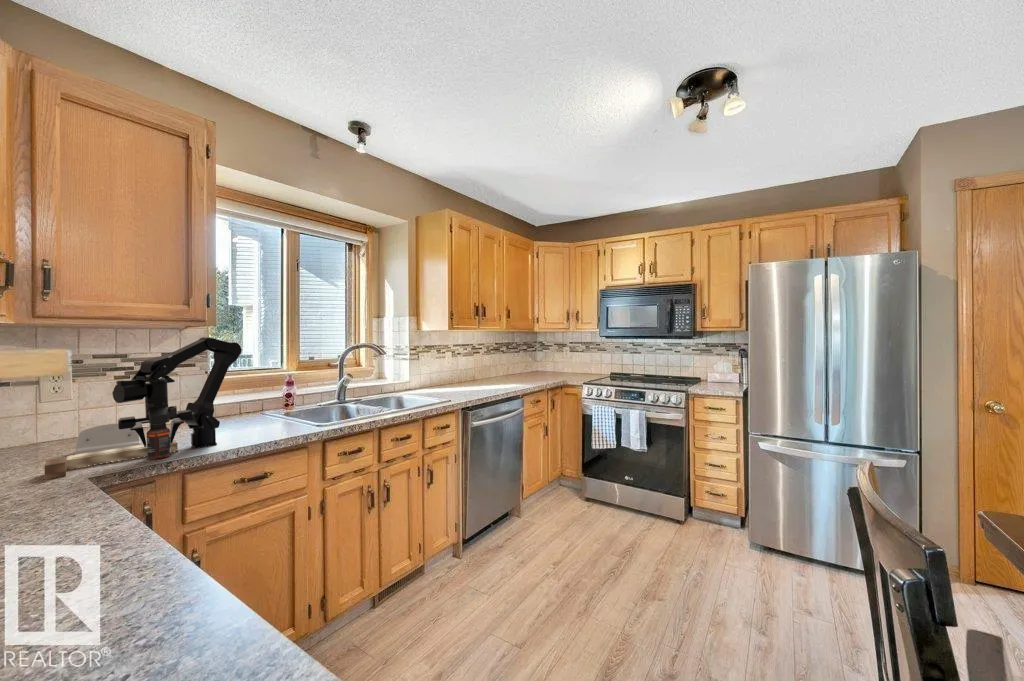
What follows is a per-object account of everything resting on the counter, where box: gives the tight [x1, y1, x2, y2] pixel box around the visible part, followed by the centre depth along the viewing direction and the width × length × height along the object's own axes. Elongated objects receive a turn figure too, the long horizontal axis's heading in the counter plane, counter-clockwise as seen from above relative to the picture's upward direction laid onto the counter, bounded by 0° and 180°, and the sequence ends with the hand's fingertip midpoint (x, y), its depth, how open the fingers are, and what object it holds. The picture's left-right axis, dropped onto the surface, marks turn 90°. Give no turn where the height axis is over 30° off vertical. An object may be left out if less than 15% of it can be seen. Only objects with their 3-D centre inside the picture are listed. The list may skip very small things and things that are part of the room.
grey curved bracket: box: [74, 423, 143, 455], centre depth 146 cm, size 17×5×10 cm, turn 128°
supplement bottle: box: [146, 423, 172, 460], centre depth 137 cm, size 6×6×11 cm
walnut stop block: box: [43, 456, 68, 480], centre depth 120 cm, size 4×7×4 cm, turn 45°
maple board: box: [66, 439, 178, 470], centre depth 136 cm, size 26×6×3 cm, turn 135°
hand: (158, 445), depth 137 cm, fingers open, 6 cm apart
